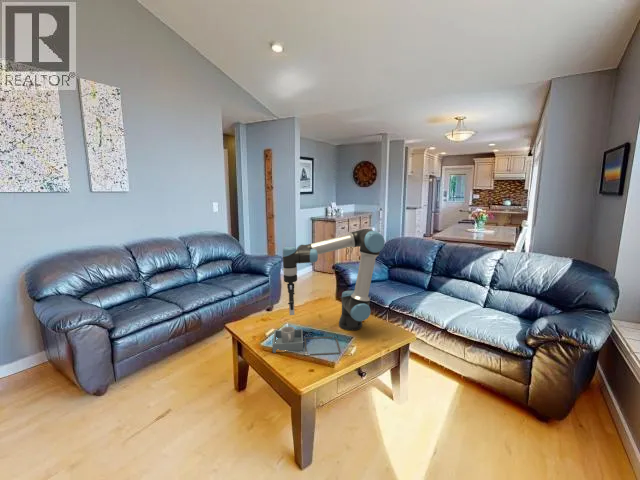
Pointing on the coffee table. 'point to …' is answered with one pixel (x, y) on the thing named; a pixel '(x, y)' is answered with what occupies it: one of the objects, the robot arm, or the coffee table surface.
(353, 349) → the coffee table surface
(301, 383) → the coffee table surface
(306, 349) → the square tray frame
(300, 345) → the bin
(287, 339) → the cup
